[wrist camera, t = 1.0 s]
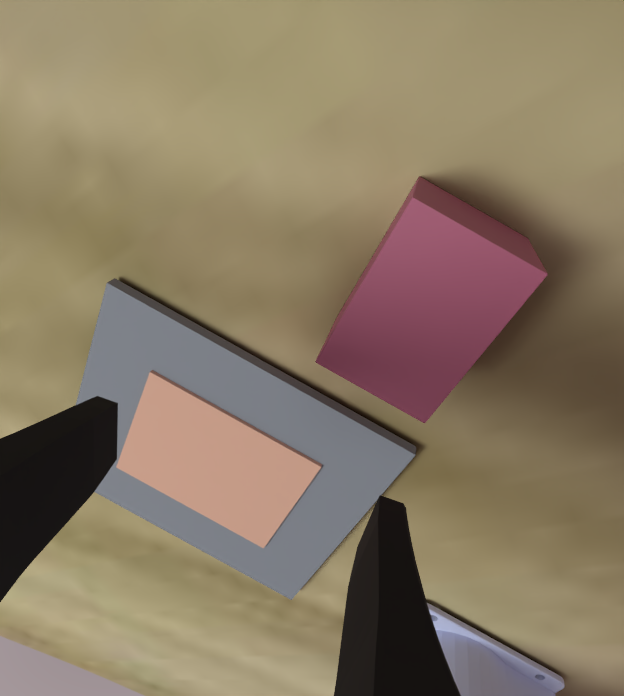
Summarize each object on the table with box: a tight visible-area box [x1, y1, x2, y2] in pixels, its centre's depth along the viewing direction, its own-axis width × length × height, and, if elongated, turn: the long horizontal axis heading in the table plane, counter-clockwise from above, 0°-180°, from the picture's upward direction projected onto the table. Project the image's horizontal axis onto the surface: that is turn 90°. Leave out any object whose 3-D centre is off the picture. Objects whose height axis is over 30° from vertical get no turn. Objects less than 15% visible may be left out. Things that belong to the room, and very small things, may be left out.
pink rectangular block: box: [315, 176, 548, 423], centre depth 17 cm, size 4×6×4 cm
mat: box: [76, 279, 416, 600], centre depth 26 cm, size 16×14×1 cm
